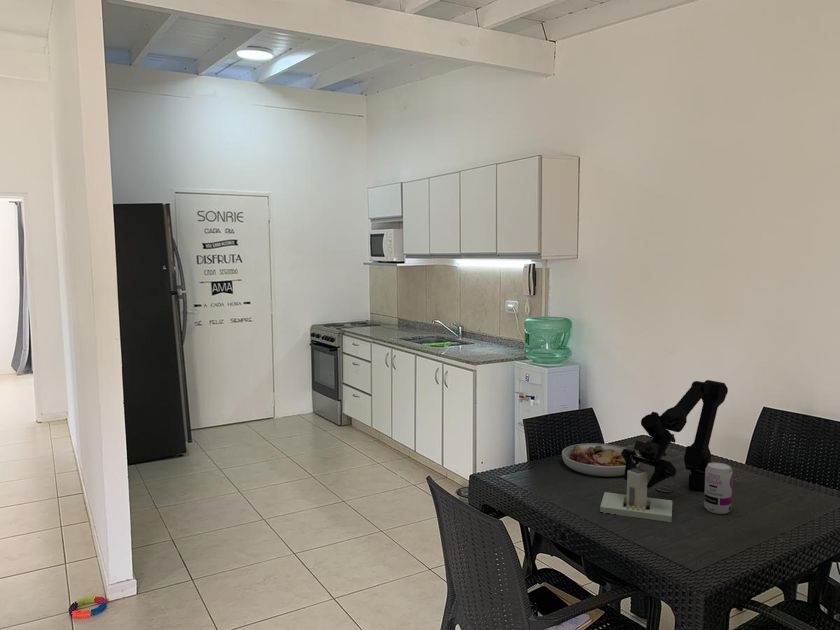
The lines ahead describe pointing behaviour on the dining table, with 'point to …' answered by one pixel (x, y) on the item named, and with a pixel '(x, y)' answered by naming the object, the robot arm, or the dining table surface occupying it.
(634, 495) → the grey tall block
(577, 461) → the bowl
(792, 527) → the dining table surface
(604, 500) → the board
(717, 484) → the supplement can
